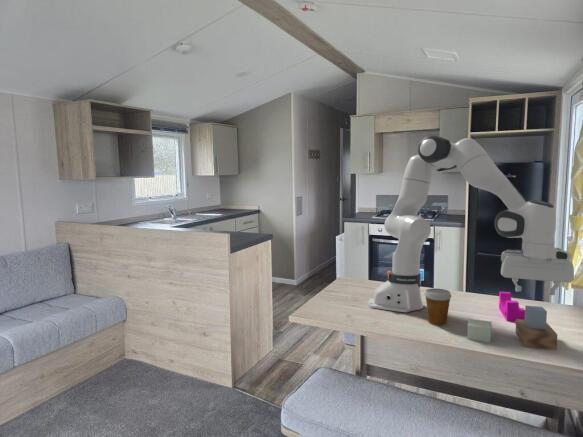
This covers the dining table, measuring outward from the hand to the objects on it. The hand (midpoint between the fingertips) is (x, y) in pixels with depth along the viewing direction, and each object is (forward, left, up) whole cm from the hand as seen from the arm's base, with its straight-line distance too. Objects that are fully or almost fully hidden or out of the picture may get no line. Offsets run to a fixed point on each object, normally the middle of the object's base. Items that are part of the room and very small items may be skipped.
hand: (534, 293), depth 130 cm
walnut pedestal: (+1, +1, -17) cm, 17 cm away
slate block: (+1, +2, -12) cm, 12 cm away
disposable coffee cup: (-29, +11, -17) cm, 35 cm away
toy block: (-1, +27, -17) cm, 32 cm away
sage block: (-16, 0, -17) cm, 23 cm away
